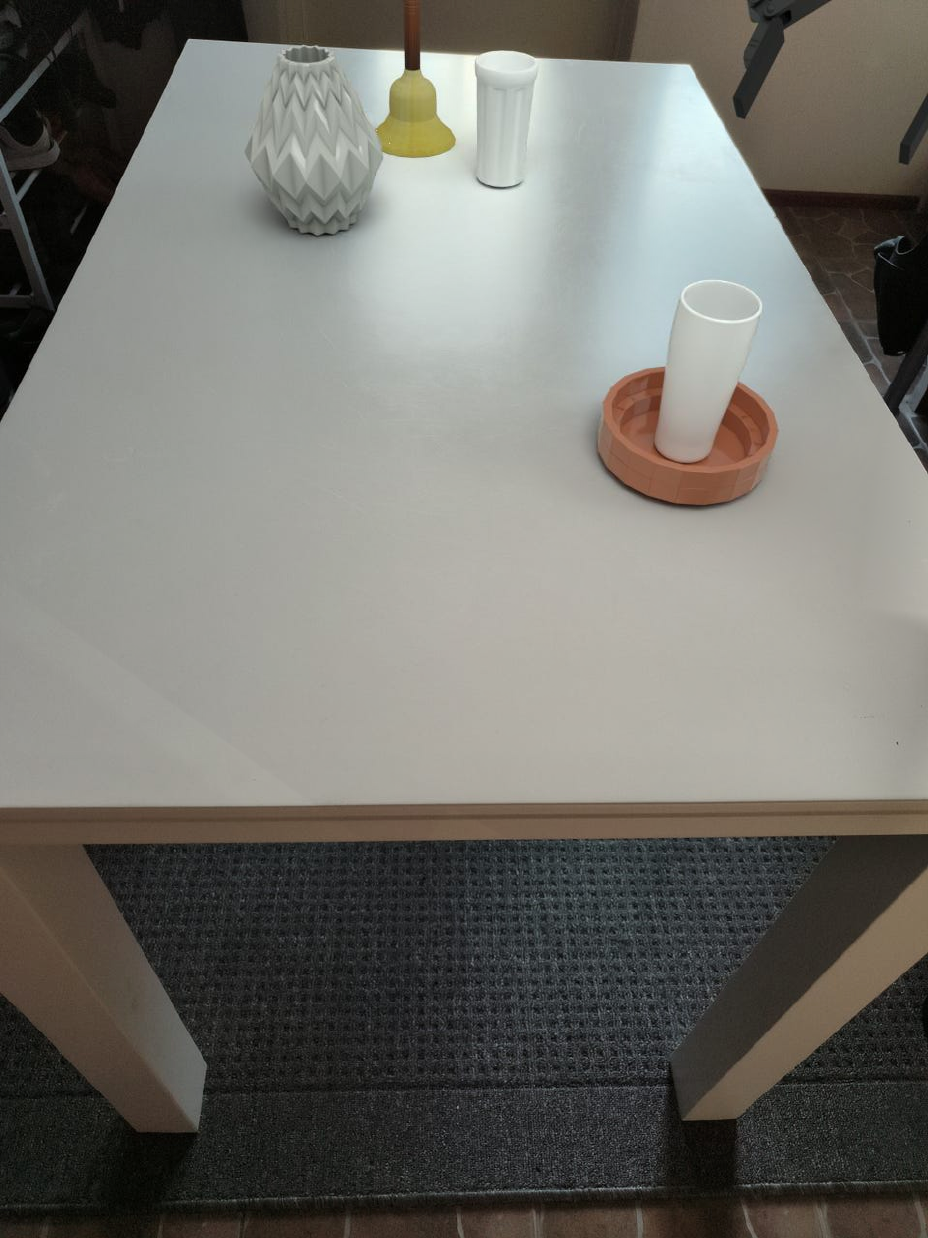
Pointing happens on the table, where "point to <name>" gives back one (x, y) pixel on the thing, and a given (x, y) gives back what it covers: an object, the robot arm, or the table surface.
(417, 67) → the handbell
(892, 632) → the table surface
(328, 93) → the vase
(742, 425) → the bowl
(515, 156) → the cup
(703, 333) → the drinking glass
